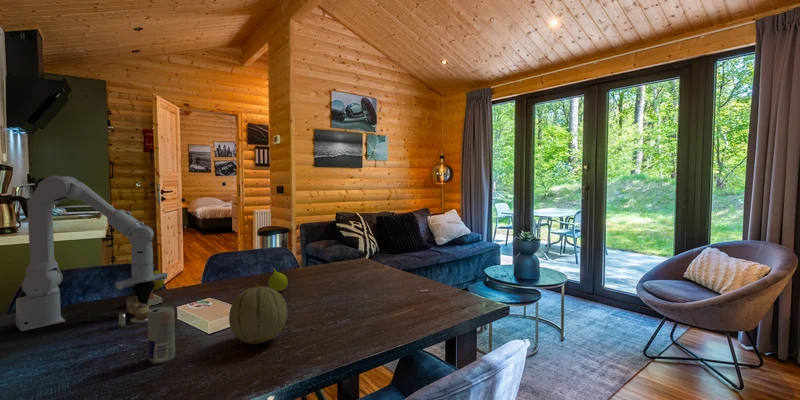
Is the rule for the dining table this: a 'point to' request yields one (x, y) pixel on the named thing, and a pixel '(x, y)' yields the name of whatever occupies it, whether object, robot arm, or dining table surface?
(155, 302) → the tray
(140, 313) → the crank arm
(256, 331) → the cantaloupe
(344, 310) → the dining table surface
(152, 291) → the block
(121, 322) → the crank base
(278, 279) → the green fig
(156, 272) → the lemon
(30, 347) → the dining table surface
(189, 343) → the dining table surface
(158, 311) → the energy drink
